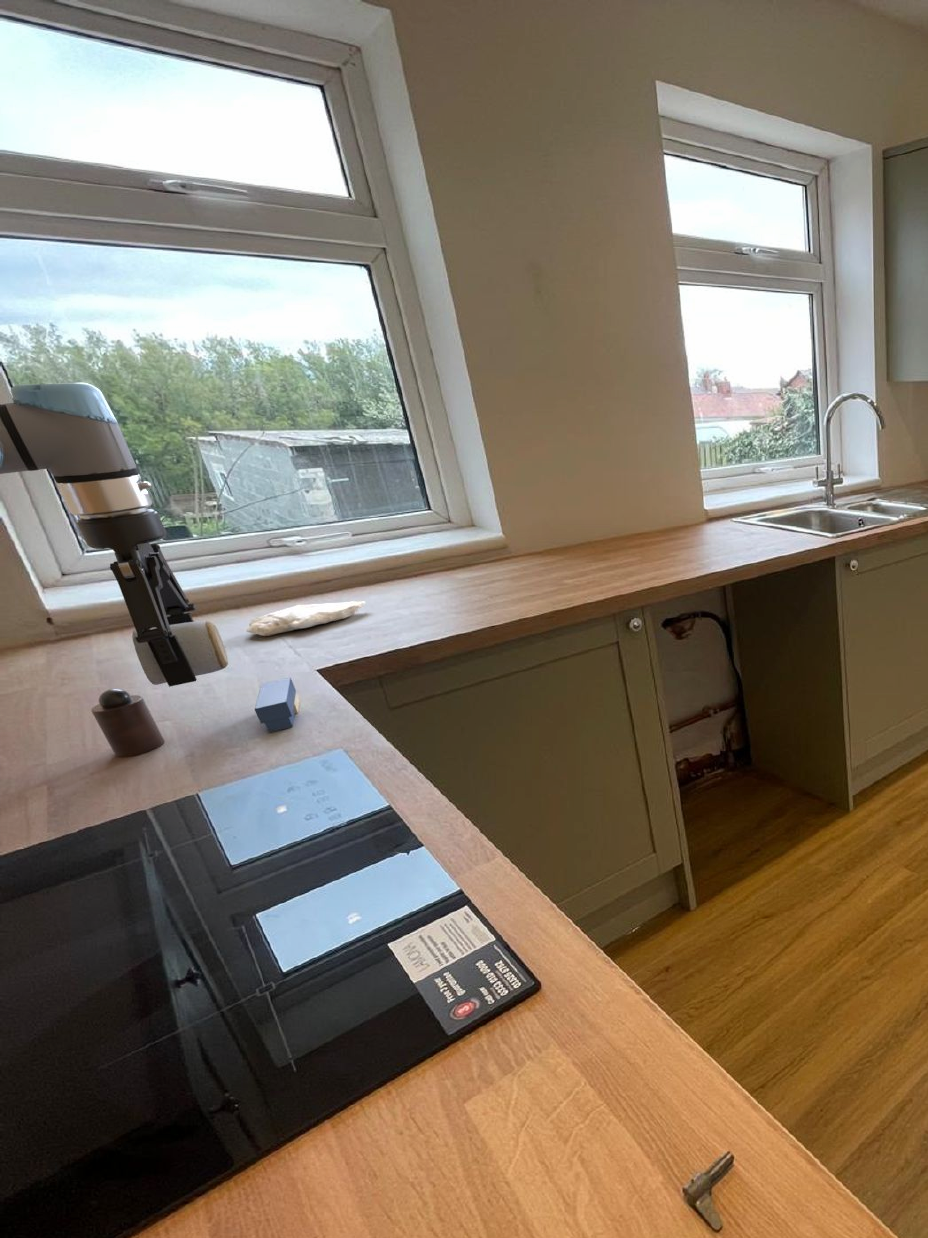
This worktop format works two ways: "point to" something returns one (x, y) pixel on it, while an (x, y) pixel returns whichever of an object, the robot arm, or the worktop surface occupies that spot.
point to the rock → (302, 617)
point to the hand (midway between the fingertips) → (190, 669)
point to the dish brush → (277, 704)
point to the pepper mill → (126, 723)
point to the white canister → (187, 650)
